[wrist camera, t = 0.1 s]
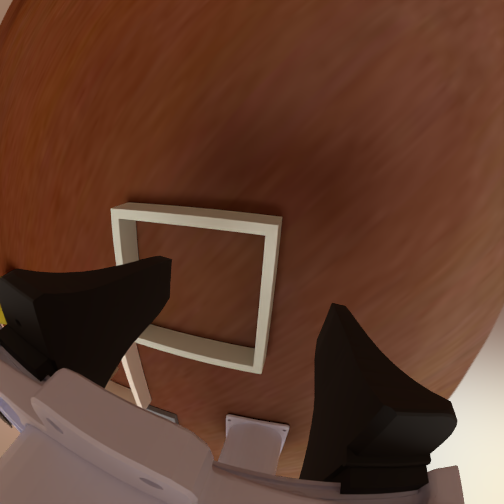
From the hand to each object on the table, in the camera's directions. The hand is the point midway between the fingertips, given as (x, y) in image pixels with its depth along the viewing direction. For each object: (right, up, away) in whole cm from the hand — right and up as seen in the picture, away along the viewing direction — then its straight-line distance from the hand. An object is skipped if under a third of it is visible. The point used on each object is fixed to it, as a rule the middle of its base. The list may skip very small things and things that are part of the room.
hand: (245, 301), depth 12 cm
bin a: (-5, -1, +12) cm, 13 cm away
